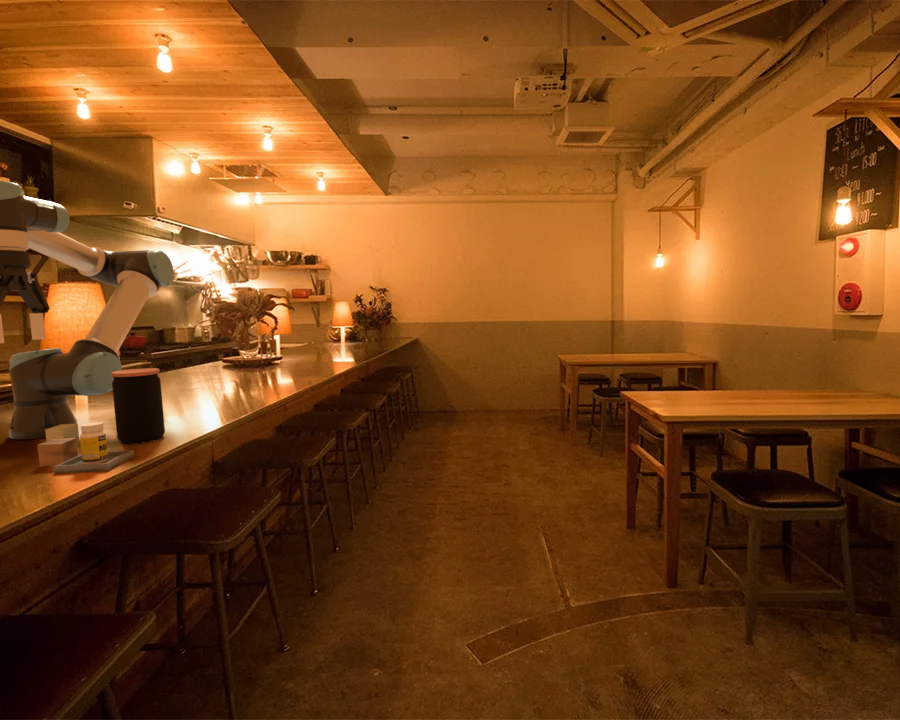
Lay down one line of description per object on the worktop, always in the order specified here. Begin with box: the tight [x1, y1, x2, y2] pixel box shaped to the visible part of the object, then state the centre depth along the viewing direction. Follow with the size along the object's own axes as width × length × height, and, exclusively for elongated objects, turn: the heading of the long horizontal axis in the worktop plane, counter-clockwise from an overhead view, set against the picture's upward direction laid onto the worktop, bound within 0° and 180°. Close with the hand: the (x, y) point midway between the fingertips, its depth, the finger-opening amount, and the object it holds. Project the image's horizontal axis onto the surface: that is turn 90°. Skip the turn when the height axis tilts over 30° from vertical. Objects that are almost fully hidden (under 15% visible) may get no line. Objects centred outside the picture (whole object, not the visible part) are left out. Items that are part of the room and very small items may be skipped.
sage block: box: [45, 423, 80, 443], centre depth 132 cm, size 6×4×5 cm, turn 5°
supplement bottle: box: [79, 421, 108, 464], centre depth 114 cm, size 5×5×8 cm
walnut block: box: [36, 438, 79, 468], centre depth 116 cm, size 5×5×5 cm
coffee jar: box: [111, 367, 166, 445], centre depth 135 cm, size 11×11×18 cm
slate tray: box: [53, 449, 135, 475], centre depth 114 cm, size 11×11×2 cm
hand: (19, 341), depth 125 cm, fingers open, 13 cm apart
